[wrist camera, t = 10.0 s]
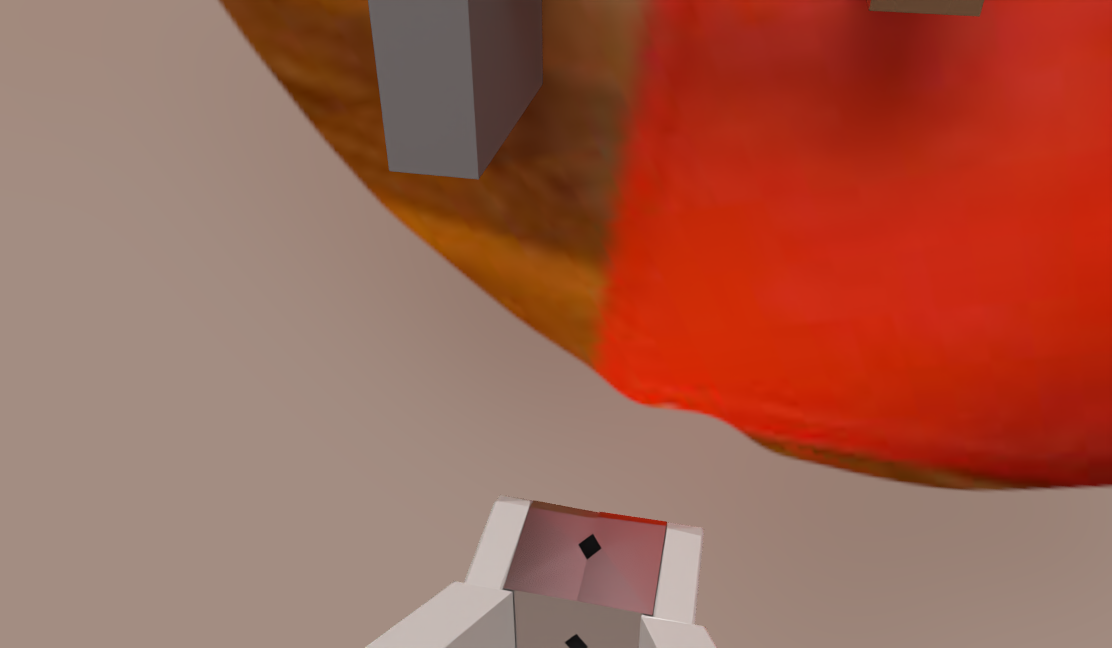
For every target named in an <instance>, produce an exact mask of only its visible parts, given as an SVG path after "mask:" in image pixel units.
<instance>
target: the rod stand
mask: <svg viewBox="0 0 1112 648" xmlns="http://www.w3.org/2000/svg"><path fill="white" fill-rule="evenodd" d="M866 2H867V6H868V9H869V11H886V12H905V13H924V14H943V15H963V16H980V13H981V10H982V6H983V2H984V0H866Z"/></svg>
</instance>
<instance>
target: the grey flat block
mask: <svg viewBox="0 0 1112 648" xmlns="http://www.w3.org/2000/svg"><path fill="white" fill-rule="evenodd" d="M368 4H369V12H370V20H371V28H372V36H373V44H374V52H375V60H376V68H377V76H378V84H379V92H380V100H381V108H382V116H383V124H384V132H385V140H386V148H387V156H388V165H389V171H394V172H405V173H416V174H427V175H437V176H448V177H459V178H470V179H479V178H480V176H481V175H482V174H483V172H484V171H485V169H486V168H487V166H488V165H489V163H490V162H491V160H492V159H493V157H494V156H495V154H496V153H497V151H498V150H499V148H500V147H501V145H502V144H503V142H504V141H505V139H506V138H507V136H508V135H509V133H510V132H511V130H512V129H513V127H514V126H515V125H516V123H517V122H518V120H519V119H520V117H521V116H522V114H523V113H524V111H525V110H526V108H527V107H528V105H529V104H530V102H531V101H532V99H533V98H534V96H535V95H536V93H537V92H538V90H539V89H540V87H541V86H542V84H543V56H542V0H368Z"/></svg>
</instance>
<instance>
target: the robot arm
mask: <svg viewBox="0 0 1112 648" xmlns="http://www.w3.org/2000/svg"><path fill="white" fill-rule="evenodd" d="M703 537H704V531H703V528H701V527H695V526H688V525H682V524H676V523H668V525H667V522H665V521H658V520H651V519H645V518H638V517H631V516H625V515H618V514H611V513H605V512H599V513H598V512H593V511H588V510H582V509H577V508H572V507H566V506H561V505H556V504H550V503H545V502H539V501H532V500H526V499H521V498H515V497H510V496H504V495H500V496H499V497H498V498H497V500H496V501H495V502H494V504H493V507H492V510H491V512H490V515H489V518H488V520H487V523H486V526H485V528H484V531H483V534H482V536H481V539H480V542H479V544H478V547H477V550H476V552H475V555H474V557H473V560H472V563H471V566H470V568H469V571H468V573H467V576H466V579H465V581H464V582H457V581H454V582H452V583H451V584H450V585H448V586H447V587H446V588H444V589H443V590H442V591H440V592H439V593H438V594H436V595H435V596H434V597H432V598H431V599H430V600H428V601H427V602H426V603H424V604H423V605H422V606H420V607H419V608H418V609H416V610H415V611H413V612H412V613H411V614H409V615H408V616H407V617H405V618H404V619H403V620H401V621H400V622H399V623H397V624H396V625H395V626H393V627H392V628H391V629H389V630H388V631H387V632H385V633H384V634H382V635H381V636H380V637H378V638H377V639H376V640H374V641H373V642H372V643H370V644H369V645H368V646H366V647H365V648H717V647H716V645H715V643H714V641H713V639H712V638H711V636H710V634H709V633H708V631H707V629H706V627H705V626H700V625H696V624H695V616H696V606H697V596H698V586H699V576H700V566H701V557H702V547H703Z"/></svg>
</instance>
